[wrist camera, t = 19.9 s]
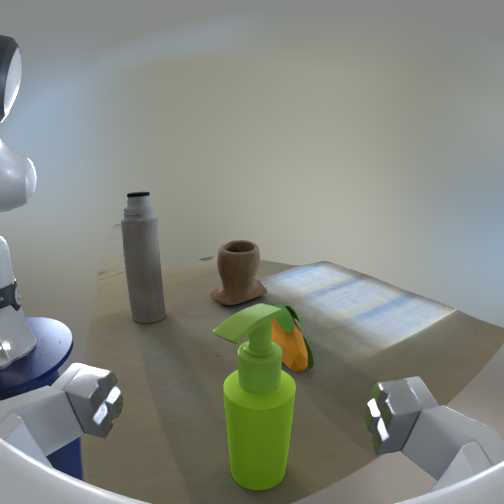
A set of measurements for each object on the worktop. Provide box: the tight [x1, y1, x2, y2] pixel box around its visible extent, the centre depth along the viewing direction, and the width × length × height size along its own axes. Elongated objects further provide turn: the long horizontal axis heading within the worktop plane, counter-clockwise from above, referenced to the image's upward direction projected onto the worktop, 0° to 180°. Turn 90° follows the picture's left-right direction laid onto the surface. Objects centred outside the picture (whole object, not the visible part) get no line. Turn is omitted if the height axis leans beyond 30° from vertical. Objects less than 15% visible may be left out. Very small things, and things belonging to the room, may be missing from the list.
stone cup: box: [210, 240, 267, 305], centre depth 74 cm, size 15×12×15 cm
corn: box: [271, 304, 313, 373], centre depth 49 cm, size 7×8×20 cm
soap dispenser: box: [212, 303, 296, 490], centre depth 22 cm, size 6×7×20 cm
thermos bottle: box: [121, 192, 166, 323], centre depth 61 cm, size 8×8×28 cm
